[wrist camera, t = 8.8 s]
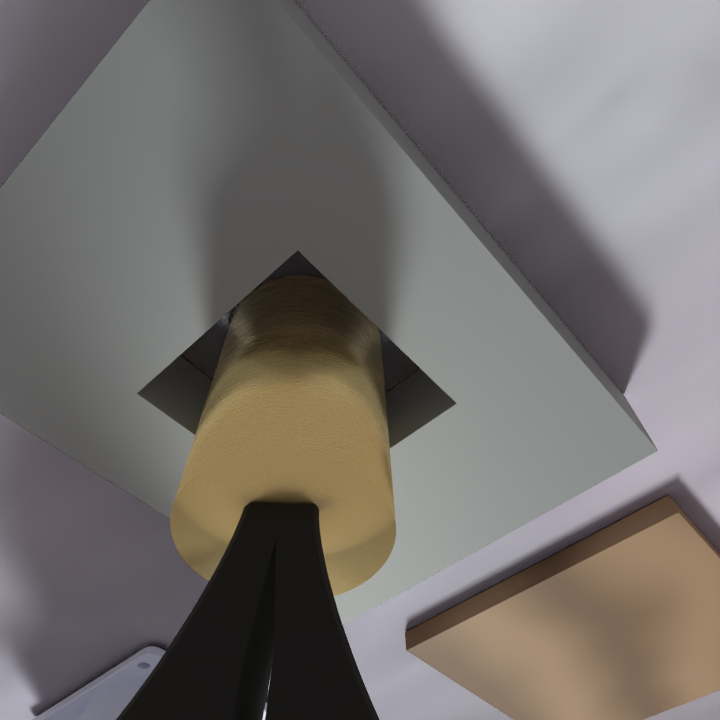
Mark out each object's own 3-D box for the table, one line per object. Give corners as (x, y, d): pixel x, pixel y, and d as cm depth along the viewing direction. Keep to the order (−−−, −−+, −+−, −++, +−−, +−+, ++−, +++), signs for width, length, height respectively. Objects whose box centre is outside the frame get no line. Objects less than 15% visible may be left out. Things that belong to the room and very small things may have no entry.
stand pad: (557, 733, 31) (561, 750, 30) (405, 632, 26) (406, 650, 25) (795, 638, 27) (806, 656, 26) (668, 495, 22) (678, 512, 21)
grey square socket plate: (341, 566, 23) (340, 626, 21) (-62, 289, 17) (-120, 338, 15) (624, 395, 19) (657, 450, 17) (233, -73, 12) (210, -77, 10)
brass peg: (377, 404, 19) (389, 603, 13) (235, 402, 19) (185, 602, 13) (384, 276, 17) (403, 452, 11) (221, 273, 17) (152, 449, 11)
